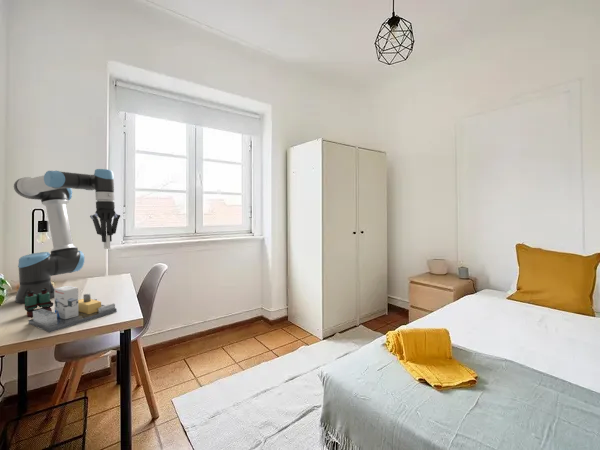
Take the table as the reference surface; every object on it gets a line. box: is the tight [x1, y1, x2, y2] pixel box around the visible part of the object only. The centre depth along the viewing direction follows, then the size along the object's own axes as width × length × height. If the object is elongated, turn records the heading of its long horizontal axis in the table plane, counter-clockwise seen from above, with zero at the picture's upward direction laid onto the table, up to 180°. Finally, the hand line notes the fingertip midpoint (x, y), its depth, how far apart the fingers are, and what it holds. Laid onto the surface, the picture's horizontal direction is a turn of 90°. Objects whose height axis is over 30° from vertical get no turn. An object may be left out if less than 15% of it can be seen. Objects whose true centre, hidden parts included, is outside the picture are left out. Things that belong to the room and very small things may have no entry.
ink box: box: [53, 285, 79, 319], centre depth 113 cm, size 9×5×12 cm, turn 65°
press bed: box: [27, 298, 117, 333], centre depth 116 cm, size 18×24×6 cm
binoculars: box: [24, 288, 55, 318], centre depth 120 cm, size 9×11×10 cm
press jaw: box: [78, 293, 102, 314], centre depth 120 cm, size 12×5×7 cm, turn 63°
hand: (107, 248), depth 137 cm, fingers closed
